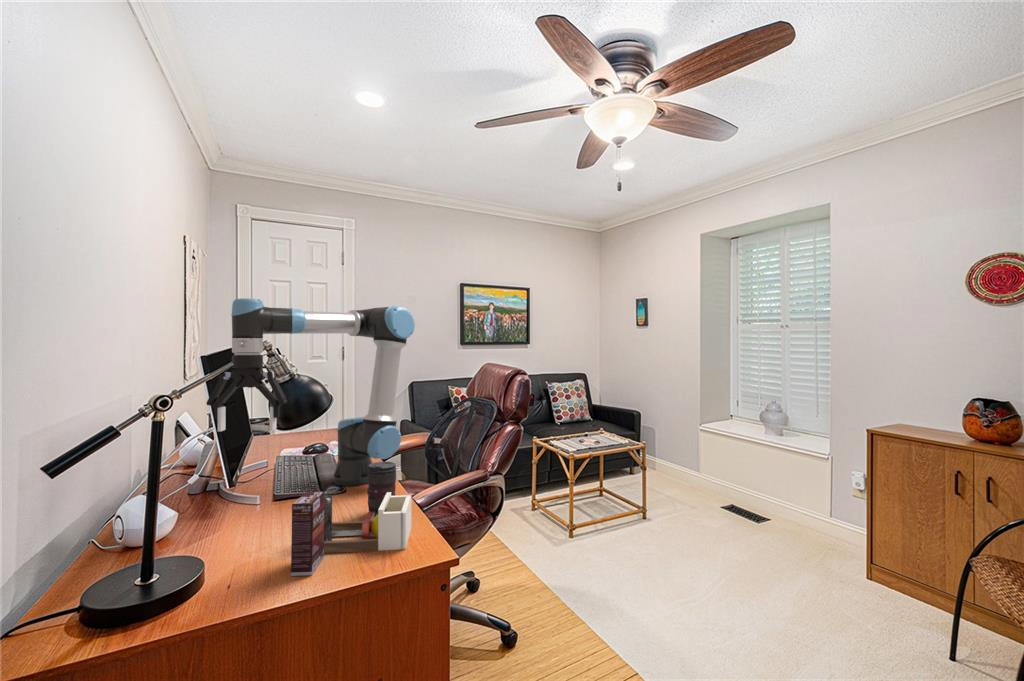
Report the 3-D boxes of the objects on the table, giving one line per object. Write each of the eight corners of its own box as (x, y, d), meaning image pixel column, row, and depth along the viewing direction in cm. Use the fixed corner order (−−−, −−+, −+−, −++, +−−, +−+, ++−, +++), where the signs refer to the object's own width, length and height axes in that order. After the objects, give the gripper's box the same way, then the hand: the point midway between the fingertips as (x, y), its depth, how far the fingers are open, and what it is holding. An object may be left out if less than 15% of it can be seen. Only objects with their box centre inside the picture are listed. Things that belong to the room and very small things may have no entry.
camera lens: (388, 521, 130) (388, 468, 130) (362, 519, 132) (362, 467, 132) (400, 510, 138) (400, 461, 138) (376, 508, 140) (376, 460, 140)
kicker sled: (321, 534, 120) (321, 492, 121) (374, 532, 122) (374, 491, 122) (312, 548, 113) (312, 503, 113) (368, 545, 114) (368, 501, 114)
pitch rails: (322, 531, 123) (322, 522, 123) (386, 528, 125) (386, 519, 125) (306, 554, 110) (306, 544, 110) (378, 550, 112) (378, 540, 112)
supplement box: (312, 576, 100) (312, 503, 100) (290, 577, 99) (290, 504, 99) (325, 557, 108) (325, 490, 108) (304, 558, 108) (304, 491, 108)
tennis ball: (365, 543, 116) (365, 515, 116) (381, 532, 123) (381, 506, 123) (389, 547, 114) (389, 519, 114) (404, 535, 121) (404, 509, 121)
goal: (386, 528, 125) (386, 492, 125) (411, 527, 126) (411, 491, 126) (378, 550, 112) (378, 509, 112) (405, 549, 113) (405, 508, 113)
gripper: (191, 354, 122) (191, 433, 122) (289, 354, 125) (289, 431, 125) (207, 353, 129) (207, 428, 129) (299, 353, 132) (299, 426, 132)
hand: (247, 430), depth 127 cm, fingers open, 13 cm apart
